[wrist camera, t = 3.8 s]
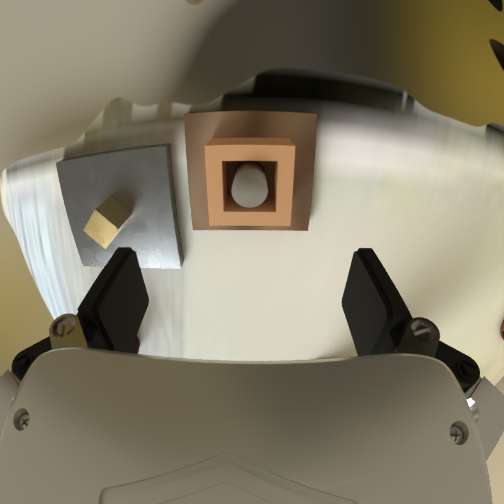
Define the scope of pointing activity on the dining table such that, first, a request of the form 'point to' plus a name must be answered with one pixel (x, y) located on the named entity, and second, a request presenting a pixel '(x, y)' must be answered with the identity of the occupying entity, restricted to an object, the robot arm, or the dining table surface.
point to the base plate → (123, 205)
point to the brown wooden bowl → (502, 330)
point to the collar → (249, 149)
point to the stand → (251, 162)
